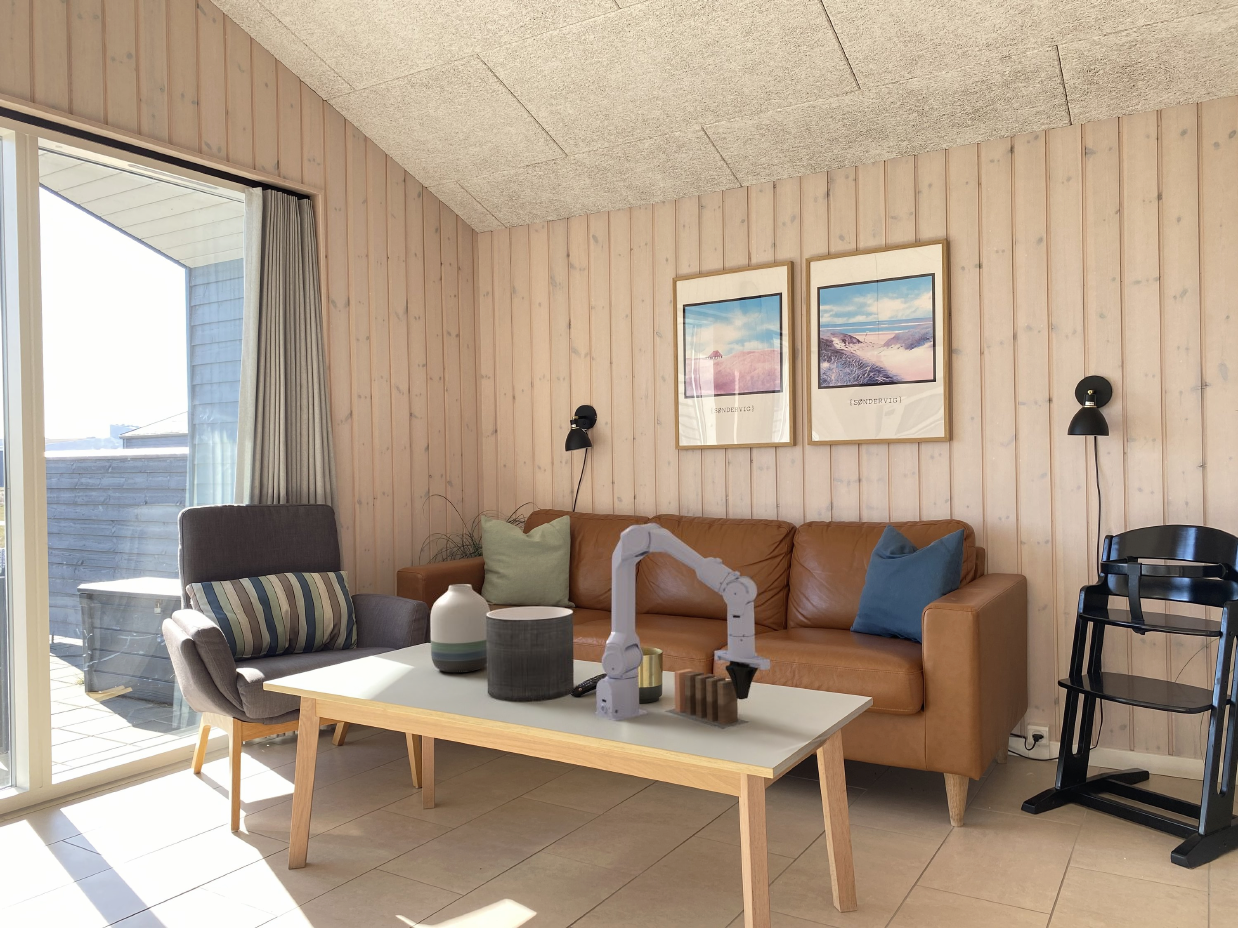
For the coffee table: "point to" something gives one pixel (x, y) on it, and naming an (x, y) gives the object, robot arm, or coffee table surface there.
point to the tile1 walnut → (727, 703)
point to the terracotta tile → (680, 689)
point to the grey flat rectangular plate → (704, 720)
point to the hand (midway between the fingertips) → (742, 698)
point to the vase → (459, 630)
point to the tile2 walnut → (712, 698)
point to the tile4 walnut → (691, 692)
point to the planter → (530, 653)
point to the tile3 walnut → (701, 695)
